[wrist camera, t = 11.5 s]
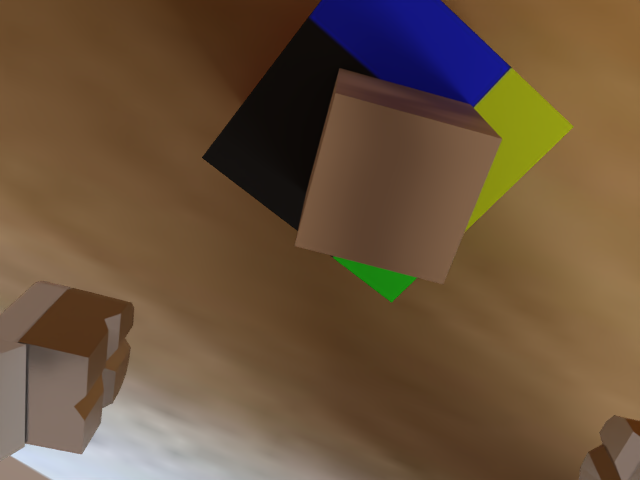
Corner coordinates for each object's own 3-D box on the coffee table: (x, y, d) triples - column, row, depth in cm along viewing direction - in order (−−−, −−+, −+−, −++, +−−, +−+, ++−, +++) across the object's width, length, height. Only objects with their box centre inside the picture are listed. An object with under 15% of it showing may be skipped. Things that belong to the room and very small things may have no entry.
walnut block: (469, 104, 21) (502, 139, 17) (425, 224, 23) (443, 284, 19) (339, 67, 21) (335, 92, 16) (306, 192, 23) (294, 245, 18)
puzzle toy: (364, -52, 28) (371, -66, 19) (507, 82, 30) (573, 126, 21) (244, 106, 32) (202, 157, 23) (380, 215, 34) (391, 302, 25)
